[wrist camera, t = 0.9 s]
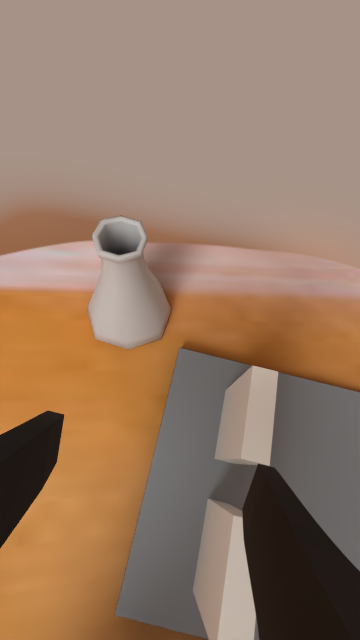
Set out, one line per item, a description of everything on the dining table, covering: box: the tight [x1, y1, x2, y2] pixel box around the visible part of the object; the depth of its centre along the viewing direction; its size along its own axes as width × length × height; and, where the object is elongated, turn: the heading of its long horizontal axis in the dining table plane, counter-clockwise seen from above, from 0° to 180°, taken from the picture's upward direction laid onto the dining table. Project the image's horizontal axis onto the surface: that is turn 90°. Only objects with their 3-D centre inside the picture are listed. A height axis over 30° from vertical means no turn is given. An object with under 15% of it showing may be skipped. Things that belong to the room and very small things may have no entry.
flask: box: [87, 216, 171, 349], centre depth 22 cm, size 7×7×10 cm
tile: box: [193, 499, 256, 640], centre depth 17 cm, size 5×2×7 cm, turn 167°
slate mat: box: [115, 348, 360, 640], centre depth 22 cm, size 17×16×1 cm
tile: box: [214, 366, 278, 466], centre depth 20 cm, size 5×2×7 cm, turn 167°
